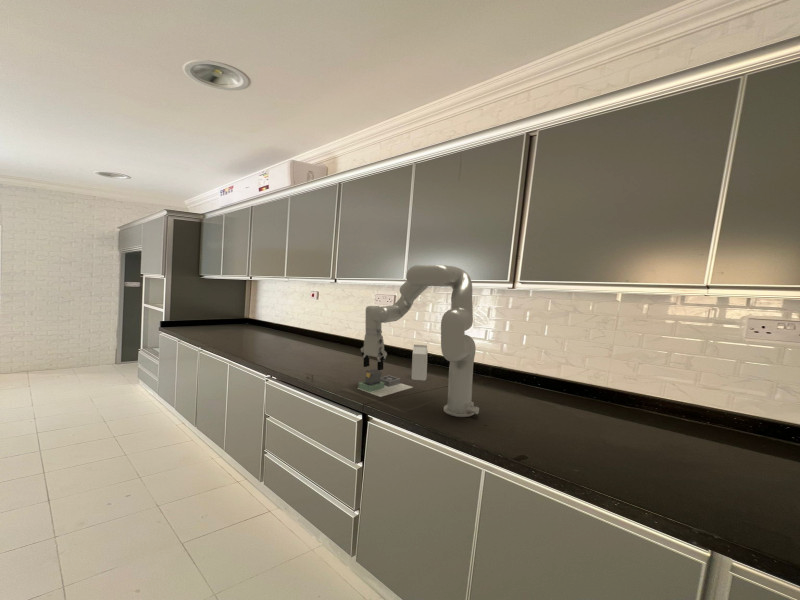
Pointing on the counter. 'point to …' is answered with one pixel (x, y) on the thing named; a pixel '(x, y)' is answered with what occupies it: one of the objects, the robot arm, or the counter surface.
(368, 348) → the robot arm
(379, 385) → the green rectangular frame
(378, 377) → the plug
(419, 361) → the milk carton
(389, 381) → the board
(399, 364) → the counter surface
